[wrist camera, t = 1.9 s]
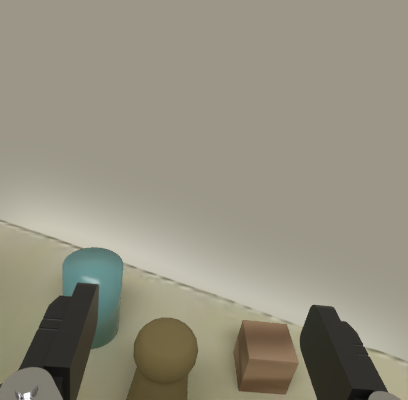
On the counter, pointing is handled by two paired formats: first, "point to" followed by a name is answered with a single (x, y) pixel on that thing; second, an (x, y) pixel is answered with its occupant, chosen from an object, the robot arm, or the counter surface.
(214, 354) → the counter surface
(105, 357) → the counter surface
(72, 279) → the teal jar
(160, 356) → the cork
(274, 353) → the walnut block
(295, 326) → the counter surface
